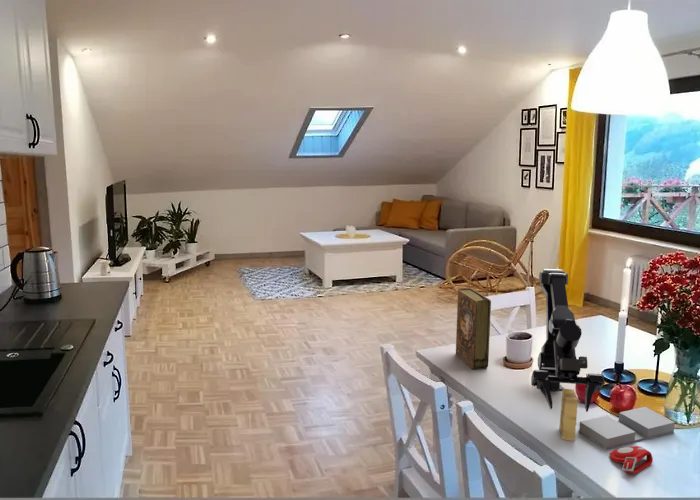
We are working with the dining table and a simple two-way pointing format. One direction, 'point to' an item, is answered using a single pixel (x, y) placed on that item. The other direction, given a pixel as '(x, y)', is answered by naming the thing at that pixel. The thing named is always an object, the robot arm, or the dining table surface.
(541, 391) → the robot arm
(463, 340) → the book
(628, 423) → the slotted board
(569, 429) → the ochre block
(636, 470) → the tracker holder
